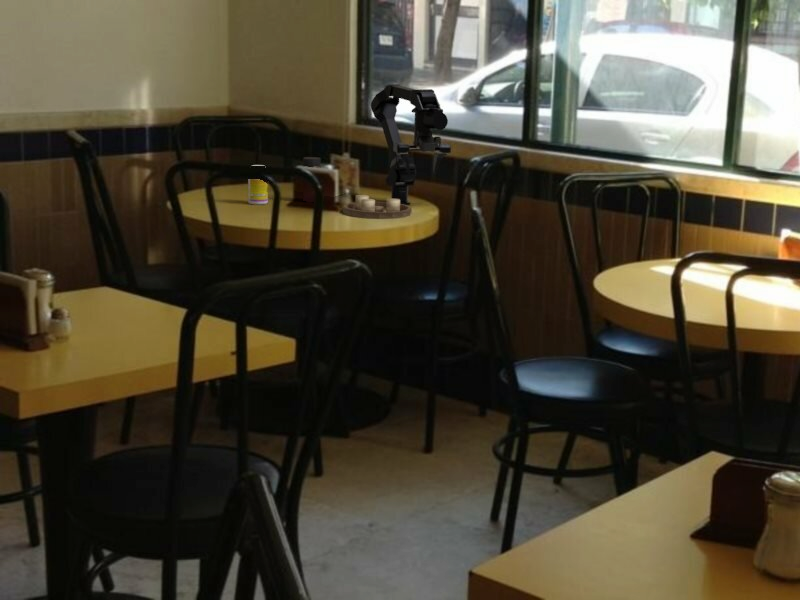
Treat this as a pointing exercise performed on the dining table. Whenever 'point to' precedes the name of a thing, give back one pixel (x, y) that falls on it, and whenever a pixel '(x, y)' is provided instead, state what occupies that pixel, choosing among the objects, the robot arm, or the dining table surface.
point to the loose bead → (358, 201)
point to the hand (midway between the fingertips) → (421, 173)
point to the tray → (379, 214)
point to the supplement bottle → (257, 191)
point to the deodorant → (311, 161)
